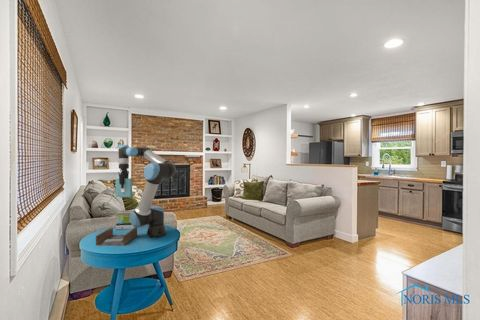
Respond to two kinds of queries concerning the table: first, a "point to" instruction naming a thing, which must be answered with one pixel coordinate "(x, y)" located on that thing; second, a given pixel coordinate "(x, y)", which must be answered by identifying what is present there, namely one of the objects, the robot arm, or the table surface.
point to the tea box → (124, 220)
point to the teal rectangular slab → (127, 188)
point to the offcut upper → (113, 241)
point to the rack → (115, 237)
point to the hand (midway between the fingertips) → (124, 191)
